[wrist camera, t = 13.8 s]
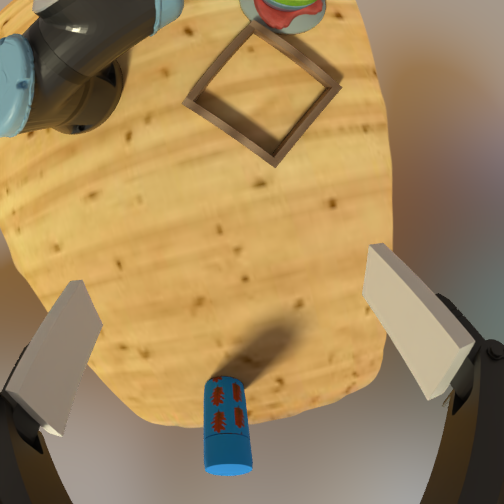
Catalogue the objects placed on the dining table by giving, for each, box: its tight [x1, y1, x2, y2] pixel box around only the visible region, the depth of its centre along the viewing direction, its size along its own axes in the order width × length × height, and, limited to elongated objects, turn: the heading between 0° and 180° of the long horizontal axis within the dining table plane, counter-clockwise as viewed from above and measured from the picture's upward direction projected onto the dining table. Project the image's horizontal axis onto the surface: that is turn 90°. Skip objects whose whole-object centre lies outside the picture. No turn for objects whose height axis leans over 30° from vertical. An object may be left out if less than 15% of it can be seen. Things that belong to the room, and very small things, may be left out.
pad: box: [239, 0, 326, 35], centre depth 29 cm, size 14×14×1 cm
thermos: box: [204, 376, 253, 476], centre depth 57 cm, size 11×11×25 cm
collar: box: [182, 20, 342, 168], centre depth 36 cm, size 17×17×2 cm
